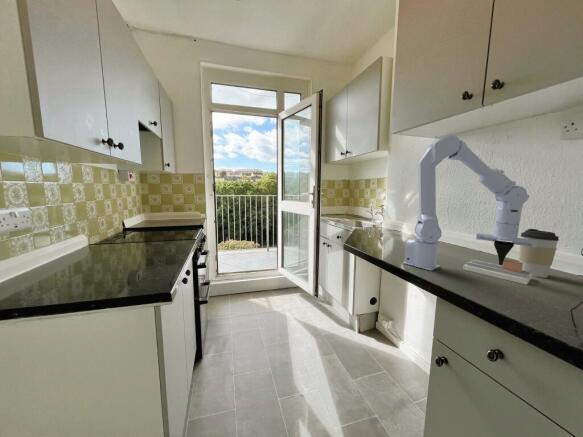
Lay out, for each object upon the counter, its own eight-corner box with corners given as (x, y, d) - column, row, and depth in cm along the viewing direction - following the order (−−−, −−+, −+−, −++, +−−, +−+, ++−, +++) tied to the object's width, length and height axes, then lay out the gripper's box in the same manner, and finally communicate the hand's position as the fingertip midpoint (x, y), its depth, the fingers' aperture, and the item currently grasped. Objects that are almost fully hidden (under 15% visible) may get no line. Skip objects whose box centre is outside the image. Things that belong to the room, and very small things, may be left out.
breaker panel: (462, 269, 83) (463, 262, 82) (471, 265, 88) (471, 258, 88) (527, 284, 70) (528, 276, 70) (531, 278, 76) (532, 271, 76)
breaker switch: (502, 271, 77) (503, 261, 76) (504, 269, 79) (506, 259, 79) (519, 275, 74) (520, 264, 73) (521, 273, 76) (523, 262, 75)
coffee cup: (560, 280, 76) (569, 233, 74) (527, 277, 78) (534, 231, 76) (537, 271, 85) (544, 229, 83) (508, 268, 86) (514, 227, 85)
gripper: (476, 221, 79) (471, 261, 81) (539, 227, 69) (531, 273, 70) (480, 220, 84) (475, 257, 86) (539, 225, 74) (532, 268, 75)
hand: (500, 264), depth 78 cm, fingers closed
